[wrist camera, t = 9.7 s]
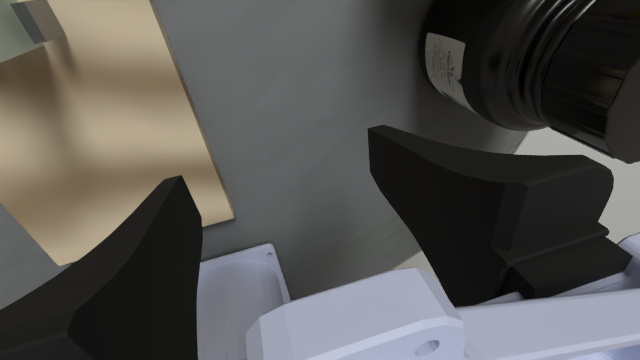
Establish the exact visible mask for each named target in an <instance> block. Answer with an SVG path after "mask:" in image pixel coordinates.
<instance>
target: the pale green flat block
mask: <svg viewBox="0 0 640 360" xmlns="http://www.w3.org/2000/svg"><path fill="white" fill-rule="evenodd" d="M13 3H19V2H18V0H0V63H1V62H4V61H6V60H9V59H11V58H14V57H16V56H18V55H21V54H23V53H26V52H28V51H31V50H33V49H36V48H38V47H40V46H43V45H44V44H43V43H38V44H34V43H33V41H32V40H31V38H30V36H29V35H28V33H27V31H26V30H25V28H24V27H23V25H22V23H21V22H20V20H19V18H18V17H17V15H16V14H15V12H14V10H13V9H12V7H11V5H10V4H13Z"/></svg>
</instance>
